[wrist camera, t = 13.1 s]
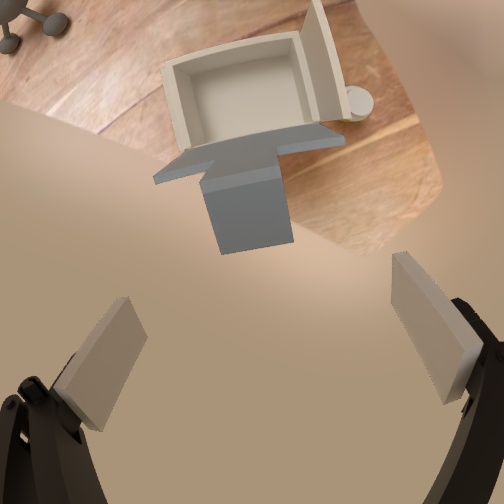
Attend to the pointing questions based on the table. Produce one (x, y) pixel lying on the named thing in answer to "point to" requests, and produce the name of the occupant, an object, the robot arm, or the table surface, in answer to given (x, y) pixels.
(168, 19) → the table surface
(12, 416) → the robot arm
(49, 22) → the molecular model
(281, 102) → the carton
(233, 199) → the flap
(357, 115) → the supplement bottle
